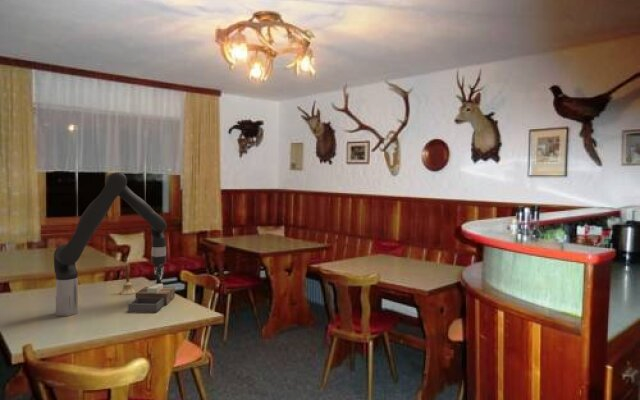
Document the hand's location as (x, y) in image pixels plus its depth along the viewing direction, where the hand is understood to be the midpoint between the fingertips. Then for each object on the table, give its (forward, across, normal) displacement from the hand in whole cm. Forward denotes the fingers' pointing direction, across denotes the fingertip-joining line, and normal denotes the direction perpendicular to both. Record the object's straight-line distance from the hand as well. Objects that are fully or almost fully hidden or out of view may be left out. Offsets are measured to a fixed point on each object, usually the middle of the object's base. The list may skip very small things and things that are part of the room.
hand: (158, 286), depth 250 cm
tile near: (+1, +9, 0) cm, 9 cm away
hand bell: (+7, -10, -21) cm, 24 cm away
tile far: (+1, +4, 0) cm, 4 cm away
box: (+7, +19, 0) cm, 20 cm away
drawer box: (+7, +6, 0) cm, 9 cm away
